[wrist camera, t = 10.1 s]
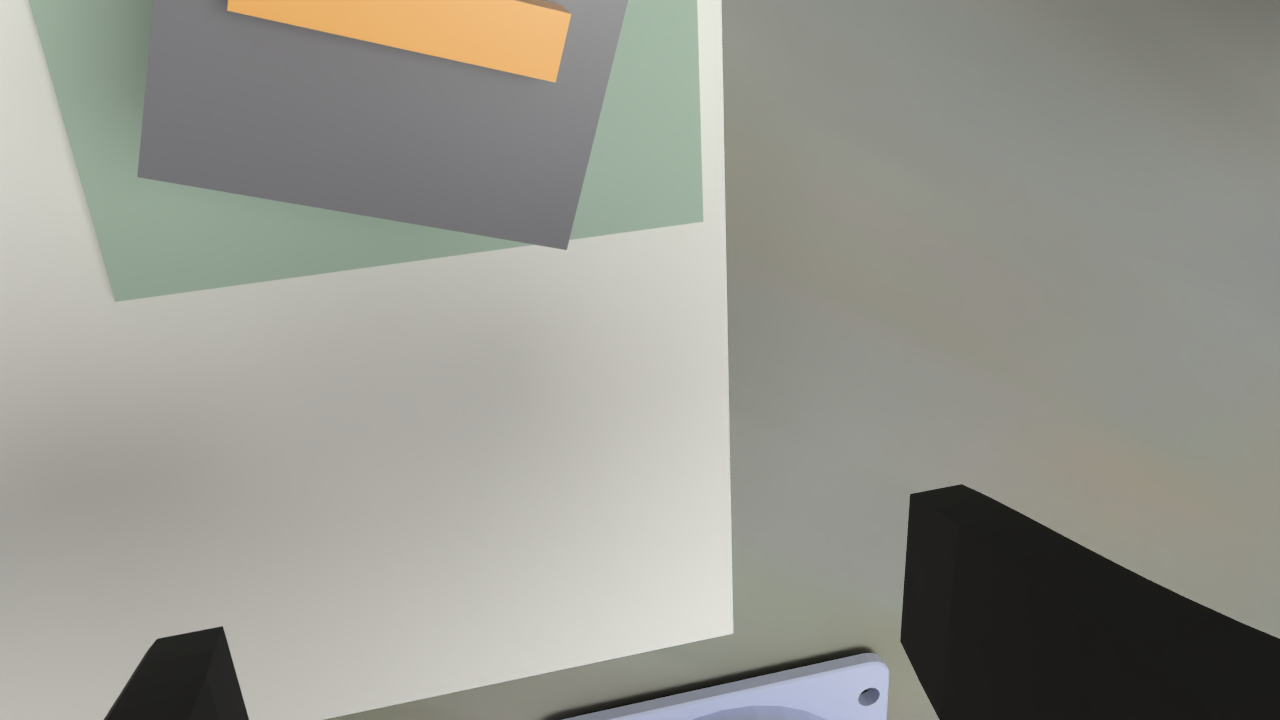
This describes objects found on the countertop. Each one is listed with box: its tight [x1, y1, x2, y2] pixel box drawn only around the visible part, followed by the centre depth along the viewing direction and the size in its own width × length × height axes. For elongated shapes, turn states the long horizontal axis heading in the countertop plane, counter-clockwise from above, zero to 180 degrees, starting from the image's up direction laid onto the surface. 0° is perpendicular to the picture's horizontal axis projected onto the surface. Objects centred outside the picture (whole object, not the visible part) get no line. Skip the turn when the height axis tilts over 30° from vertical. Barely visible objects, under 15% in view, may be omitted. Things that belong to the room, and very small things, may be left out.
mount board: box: [0, 0, 733, 720], centre depth 15 cm, size 19×20×6 cm
